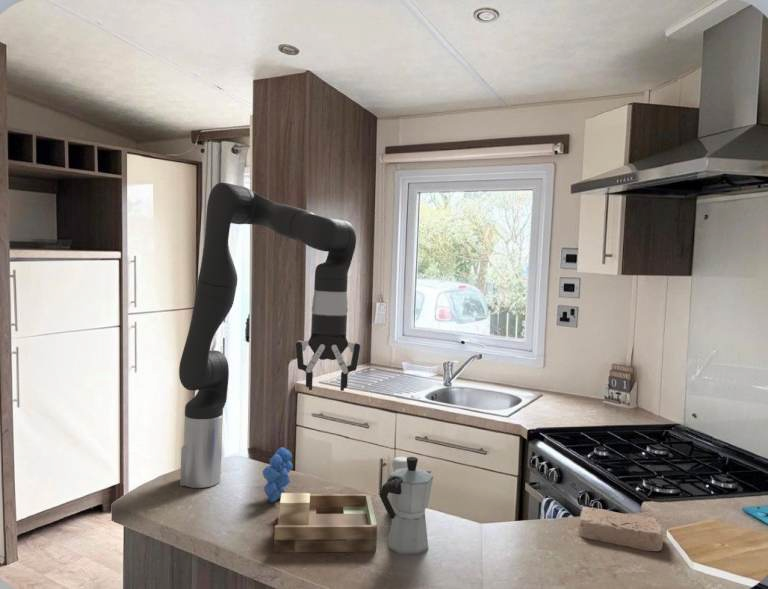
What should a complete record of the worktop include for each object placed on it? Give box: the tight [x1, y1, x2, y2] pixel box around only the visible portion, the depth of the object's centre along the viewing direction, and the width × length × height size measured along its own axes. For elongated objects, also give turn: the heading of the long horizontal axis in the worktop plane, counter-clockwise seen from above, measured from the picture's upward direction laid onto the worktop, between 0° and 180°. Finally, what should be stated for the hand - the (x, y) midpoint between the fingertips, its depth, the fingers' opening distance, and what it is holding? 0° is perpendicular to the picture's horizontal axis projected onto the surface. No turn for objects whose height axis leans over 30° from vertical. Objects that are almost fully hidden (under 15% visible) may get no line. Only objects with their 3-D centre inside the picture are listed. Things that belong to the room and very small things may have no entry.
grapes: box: [262, 446, 294, 503], centre depth 134 cm, size 12×7×12 cm, turn 165°
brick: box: [577, 506, 664, 552], centre depth 122 cm, size 17×8×5 cm, turn 68°
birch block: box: [278, 492, 311, 525], centre depth 116 cm, size 6×5×5 cm
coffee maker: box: [378, 456, 434, 556], centre depth 113 cm, size 15×9×18 cm, turn 134°
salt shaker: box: [388, 456, 408, 510], centre depth 128 cm, size 6×6×13 cm
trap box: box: [273, 493, 378, 553], centre depth 117 cm, size 20×16×5 cm
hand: (326, 389), depth 120 cm, fingers open, 6 cm apart
